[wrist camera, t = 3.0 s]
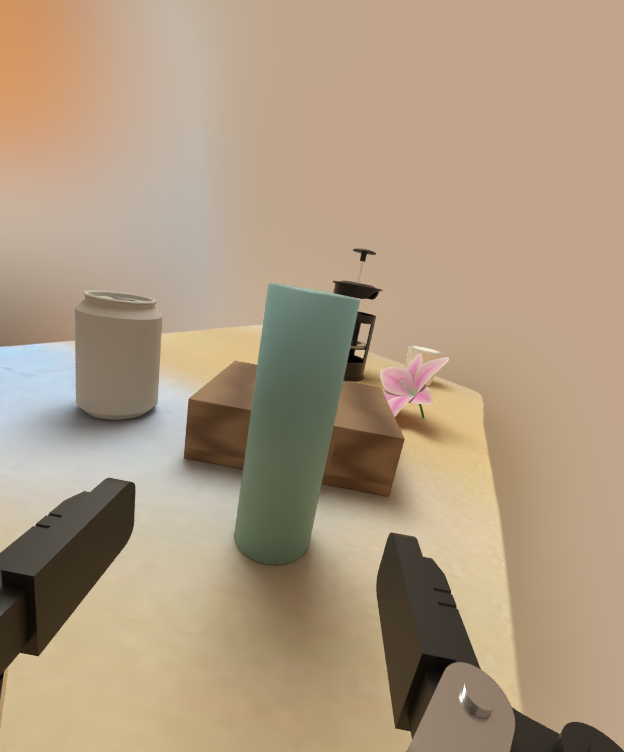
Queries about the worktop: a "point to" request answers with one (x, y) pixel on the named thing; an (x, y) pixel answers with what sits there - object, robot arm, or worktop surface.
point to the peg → (292, 419)
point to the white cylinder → (427, 356)
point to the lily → (409, 383)
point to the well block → (348, 442)
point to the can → (117, 354)
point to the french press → (358, 320)
